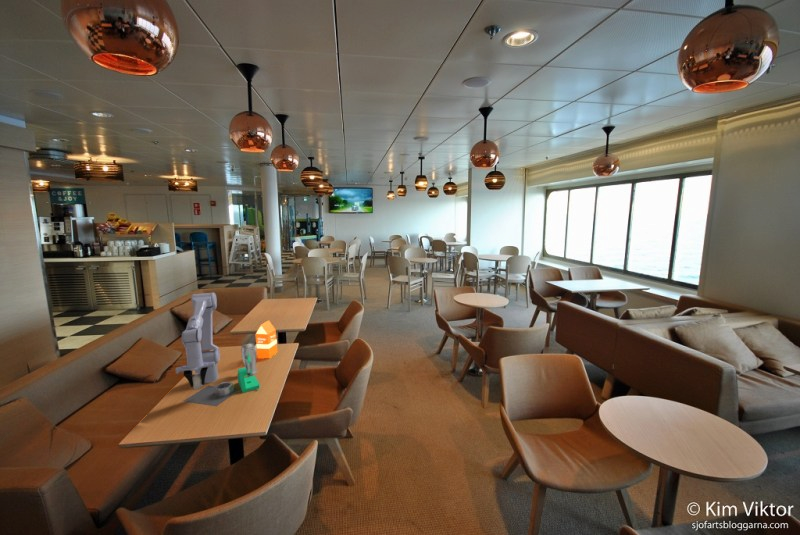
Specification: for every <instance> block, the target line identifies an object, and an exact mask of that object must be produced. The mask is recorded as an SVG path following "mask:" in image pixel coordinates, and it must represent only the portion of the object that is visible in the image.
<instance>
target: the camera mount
mask: <svg viewBox="0 0 800 535" xmlns="http://www.w3.org/2000/svg"><path fill="white" fill-rule="evenodd" d="M237 383H238V385H239V389H240V391H241V393H242V394H244V393H247V392H250V391H255V390H258V389H260V388H261V385H260V382H259V380H258V378H257V377H256V375H251V376H247V369H246V367H245V366H243V367H240V368H238V369H237Z"/></svg>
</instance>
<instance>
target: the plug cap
mask: <svg viewBox="0 0 800 535" xmlns="http://www.w3.org/2000/svg"><path fill="white" fill-rule="evenodd" d="M192 374H193V375H192V380H193V387H192V388H193V390H194V391H195V390H200V389H201V390H202V389H203V387H204V385H202V378H201V374H200V373H196V374H195V373H192Z"/></svg>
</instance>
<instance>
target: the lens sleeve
mask: <svg viewBox="0 0 800 535" xmlns="http://www.w3.org/2000/svg"><path fill="white" fill-rule="evenodd" d="M214 386H215V395H216V396H217V397H225V396H228V395H230V394H232V393H233V391H234V389H235V388H234V383H233V382H232V381H222V382H221V383H218V384H217V385H214Z"/></svg>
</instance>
